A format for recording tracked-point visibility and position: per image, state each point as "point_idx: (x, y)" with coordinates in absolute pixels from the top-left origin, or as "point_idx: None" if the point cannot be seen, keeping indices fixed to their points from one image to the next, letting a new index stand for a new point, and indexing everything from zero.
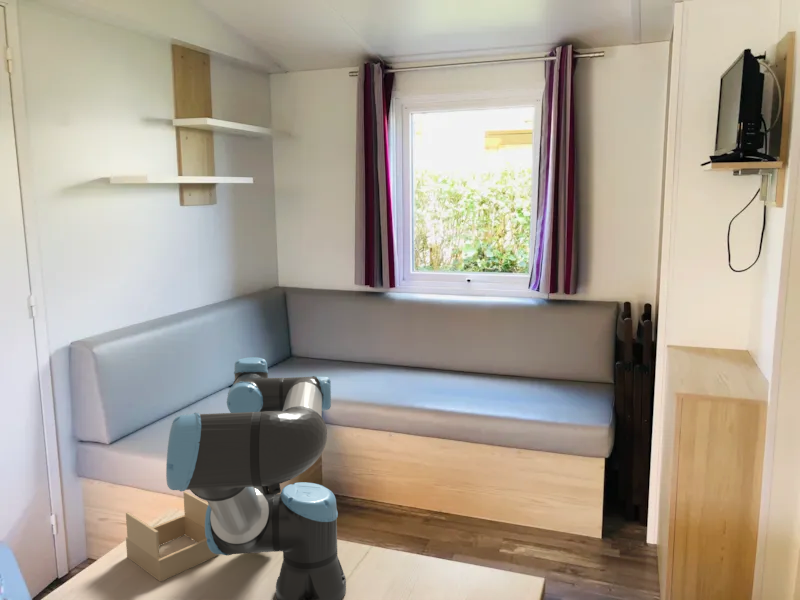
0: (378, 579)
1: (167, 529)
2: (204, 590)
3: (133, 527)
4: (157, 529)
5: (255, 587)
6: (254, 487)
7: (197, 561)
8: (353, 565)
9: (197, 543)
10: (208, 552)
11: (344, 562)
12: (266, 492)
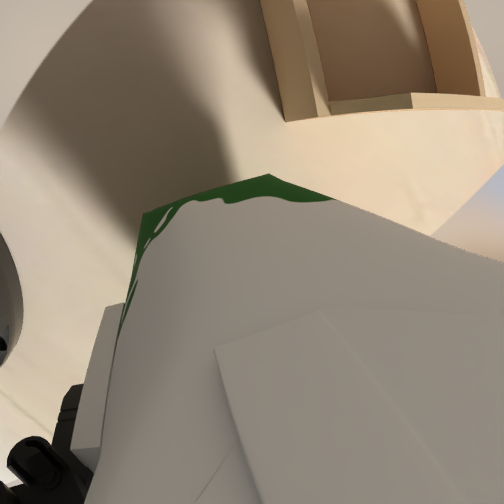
0: None
1: (455, 46)
2: (103, 6)
3: None
4: (456, 15)
5: (18, 150)
6: (86, 500)
7: (270, 32)
8: (27, 408)
9: (301, 15)
10: (285, 70)
11: (44, 402)
12: (40, 494)
